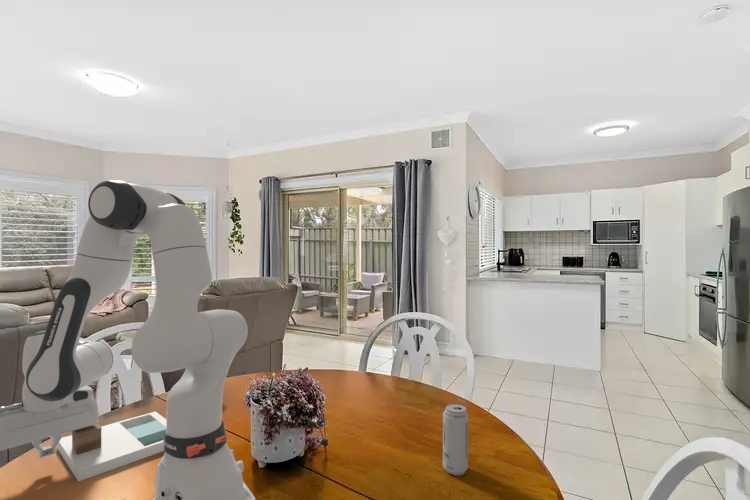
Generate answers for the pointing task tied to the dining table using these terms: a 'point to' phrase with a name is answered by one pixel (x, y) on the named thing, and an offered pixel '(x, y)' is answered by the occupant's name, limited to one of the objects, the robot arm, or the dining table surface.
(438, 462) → the dining table surface
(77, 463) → the board
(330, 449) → the dining table surface
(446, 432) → the energy drink can
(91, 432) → the walnut block
